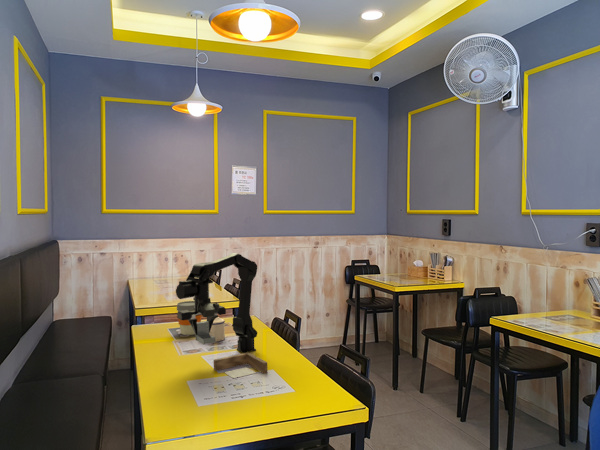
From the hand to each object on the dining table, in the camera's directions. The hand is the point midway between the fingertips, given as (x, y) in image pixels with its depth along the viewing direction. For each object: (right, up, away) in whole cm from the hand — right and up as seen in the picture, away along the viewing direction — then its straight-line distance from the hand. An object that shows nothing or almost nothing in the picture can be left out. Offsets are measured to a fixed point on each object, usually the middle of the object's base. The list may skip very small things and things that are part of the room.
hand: (202, 333), depth 186 cm
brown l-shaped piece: (+17, -12, -8) cm, 23 cm away
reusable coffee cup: (-17, -11, +49) cm, 53 cm away
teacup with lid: (-3, -12, +36) cm, 38 cm away
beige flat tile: (+17, -13, -10) cm, 23 cm away
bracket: (+2, -2, -2) cm, 4 cm away
